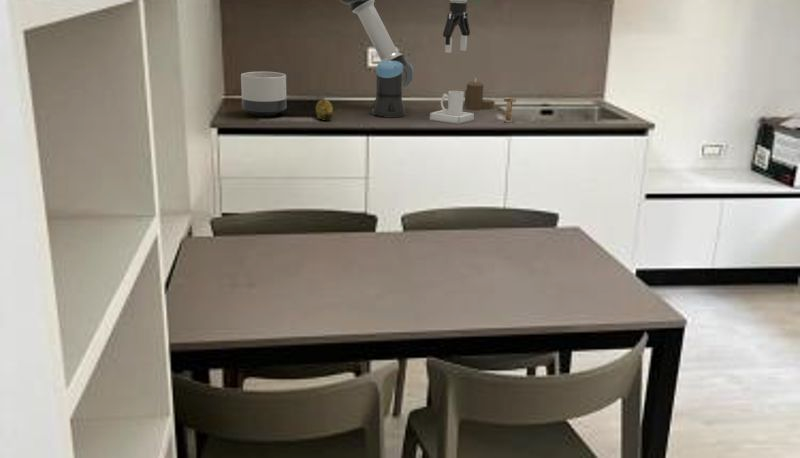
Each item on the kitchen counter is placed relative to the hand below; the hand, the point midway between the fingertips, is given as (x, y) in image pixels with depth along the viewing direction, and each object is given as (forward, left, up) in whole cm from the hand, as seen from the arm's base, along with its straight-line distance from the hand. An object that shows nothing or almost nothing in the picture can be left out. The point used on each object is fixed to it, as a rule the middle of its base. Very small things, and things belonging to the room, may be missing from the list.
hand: (455, 51), depth 354 cm
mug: (+6, -12, -28) cm, 31 cm away
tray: (+6, -11, -29) cm, 31 cm away
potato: (-37, -48, -29) cm, 67 cm away
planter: (-62, -59, -29) cm, 90 cm away
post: (+27, +3, -29) cm, 40 cm away
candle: (-1, +24, -29) cm, 38 cm away
